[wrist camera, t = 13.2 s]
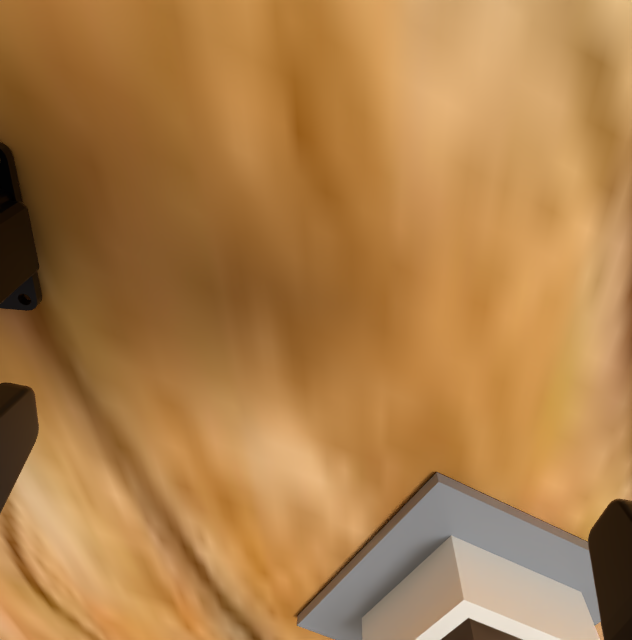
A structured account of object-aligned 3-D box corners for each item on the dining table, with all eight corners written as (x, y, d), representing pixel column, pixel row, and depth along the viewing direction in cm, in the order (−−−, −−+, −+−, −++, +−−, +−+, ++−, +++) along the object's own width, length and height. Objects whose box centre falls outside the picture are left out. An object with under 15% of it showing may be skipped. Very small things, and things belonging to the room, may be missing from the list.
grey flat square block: (297, 615, 33) (292, 688, 29) (436, 472, 26) (450, 544, 23) (486, 685, 36) (501, 759, 32) (653, 572, 29) (694, 649, 26)
